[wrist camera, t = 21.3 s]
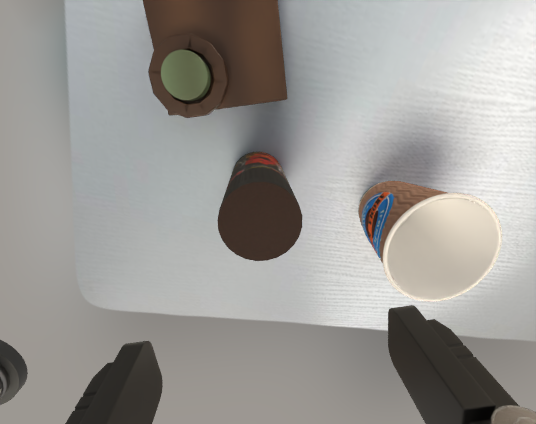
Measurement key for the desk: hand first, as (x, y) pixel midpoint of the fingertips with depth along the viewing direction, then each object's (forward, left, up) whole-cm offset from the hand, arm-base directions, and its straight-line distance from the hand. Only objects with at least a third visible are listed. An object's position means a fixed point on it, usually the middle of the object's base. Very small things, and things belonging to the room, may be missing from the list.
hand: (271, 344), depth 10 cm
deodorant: (0, 0, -27) cm, 27 cm away
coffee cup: (+15, -6, -27) cm, 31 cm away
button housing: (-2, +13, -27) cm, 30 cm away
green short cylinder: (-5, +11, -23) cm, 26 cm away
